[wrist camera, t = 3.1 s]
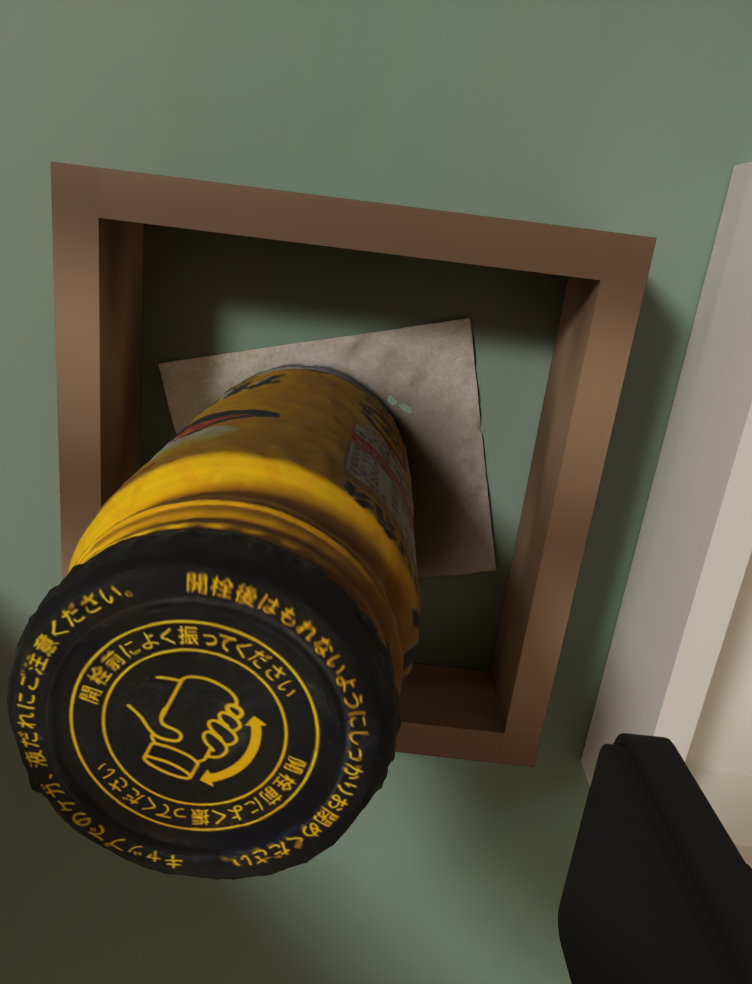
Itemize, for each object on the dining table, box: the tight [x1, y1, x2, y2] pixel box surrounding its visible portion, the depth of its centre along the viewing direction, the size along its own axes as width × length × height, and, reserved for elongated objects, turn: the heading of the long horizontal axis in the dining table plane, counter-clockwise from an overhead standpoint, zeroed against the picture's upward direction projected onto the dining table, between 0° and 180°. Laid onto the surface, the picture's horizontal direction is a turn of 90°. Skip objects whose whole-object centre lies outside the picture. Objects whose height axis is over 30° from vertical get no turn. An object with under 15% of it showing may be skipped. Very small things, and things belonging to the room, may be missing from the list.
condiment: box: [7, 318, 496, 880], centre depth 15 cm, size 7×8×12 cm
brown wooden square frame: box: [51, 162, 657, 767], centre depth 19 cm, size 14×13×3 cm
